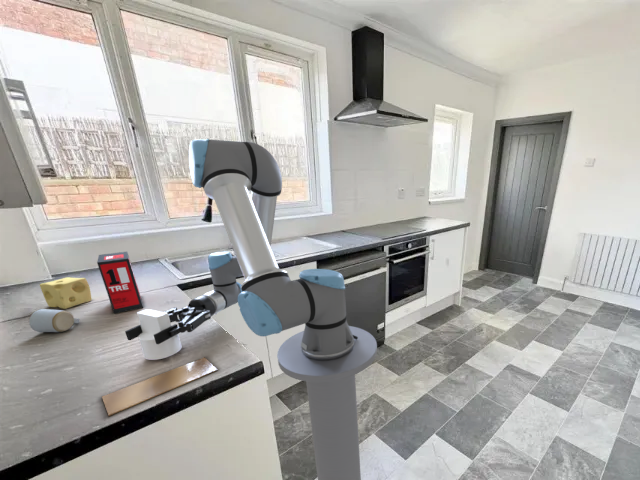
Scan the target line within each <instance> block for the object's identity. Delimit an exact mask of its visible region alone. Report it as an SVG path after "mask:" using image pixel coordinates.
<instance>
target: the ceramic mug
mask: <svg viewBox="0 0 640 480" xmlns="http://www.w3.org/2000/svg"><path fill="white" fill-rule="evenodd" d="M28 323H29V326H30V328H31V329H32V330H33V331H34V332H37V333H62V332H66V331H68V330H70V329H71V328H72V327H73V326H74V324H80V318H75V317H74V315H73V314H72V313H71V312H69V311H67V310H64V309H49V308H41V309H37V310H35V311H34V312H32V313H31V315H30V316H29V320H28Z"/></svg>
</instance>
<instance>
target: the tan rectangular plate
mask: <svg viewBox="0 0 640 480" xmlns="http://www.w3.org/2000/svg"><path fill="white" fill-rule="evenodd" d="M217 371H218V368H217V367H216V366H215V365H214V364H212V362H210V360H208V359H207V358H206V357H205V356H204V357H201V358H198V359H196V360H194V361H191V362H188V363H186V364H183V365H181V366H178V367H176V368H173V369H170V370H168V371H165V372H162V373H159V374H157V375H155V376H152V377H149V378H147V379H144V380H142V381H139V382H136V383H133V384H131V385H129V386H125V387H124V388H120V389H118V390H116V391H113V392H111V393H108V394H105V395H103V396H101V398H102V401H103V404H104V407H105V409H106V412H107V415H108V417H110V416H113V415H115V414H118V413H120V412H122V411H124V410H127V409H130V408H132V407H135V406H137V405H138V404H141V403H143V402H146V401H148V400H152V399H153V398H156V397H158V396H160V395H163V394H165V393H168V392H169V391H172V390H175V389H177V388H179V387H182V386H184V385H187V384H189V383H191V382H194V381H196V380H198V379H200V378H203V377H205V376H208V375H210V374H213V373H214V372H217Z"/></svg>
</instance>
